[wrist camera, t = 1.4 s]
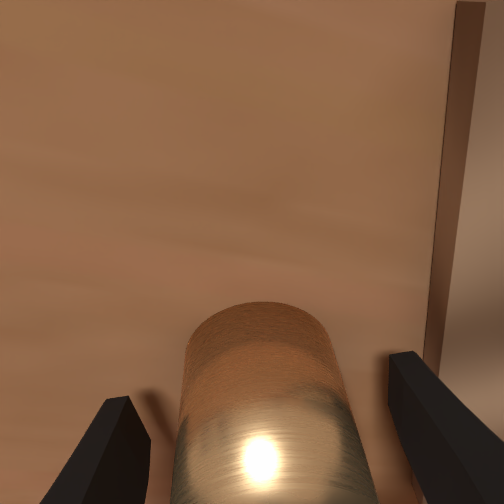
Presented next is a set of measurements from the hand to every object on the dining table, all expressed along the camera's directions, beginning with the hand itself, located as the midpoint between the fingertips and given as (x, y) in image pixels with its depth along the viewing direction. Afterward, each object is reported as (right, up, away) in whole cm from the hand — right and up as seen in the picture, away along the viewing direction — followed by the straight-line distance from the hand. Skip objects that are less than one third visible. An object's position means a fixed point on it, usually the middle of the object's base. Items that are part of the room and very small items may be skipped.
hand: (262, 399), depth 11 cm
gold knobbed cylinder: (0, +1, +1) cm, 2 cm away
